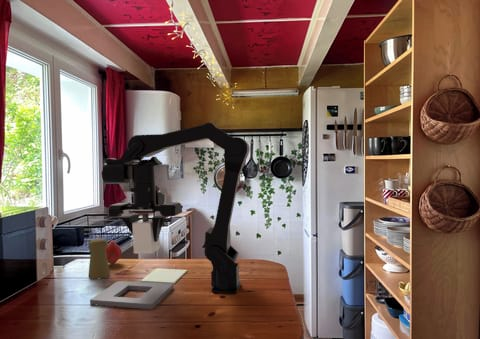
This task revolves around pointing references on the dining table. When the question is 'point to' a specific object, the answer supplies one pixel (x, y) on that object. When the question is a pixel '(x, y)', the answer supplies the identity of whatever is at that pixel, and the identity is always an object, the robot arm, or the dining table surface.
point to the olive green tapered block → (98, 259)
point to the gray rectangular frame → (145, 302)
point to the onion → (113, 252)
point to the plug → (144, 236)
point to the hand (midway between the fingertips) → (146, 241)
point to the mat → (164, 276)
